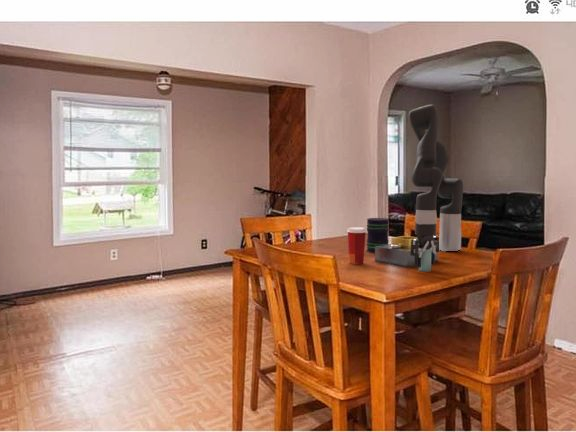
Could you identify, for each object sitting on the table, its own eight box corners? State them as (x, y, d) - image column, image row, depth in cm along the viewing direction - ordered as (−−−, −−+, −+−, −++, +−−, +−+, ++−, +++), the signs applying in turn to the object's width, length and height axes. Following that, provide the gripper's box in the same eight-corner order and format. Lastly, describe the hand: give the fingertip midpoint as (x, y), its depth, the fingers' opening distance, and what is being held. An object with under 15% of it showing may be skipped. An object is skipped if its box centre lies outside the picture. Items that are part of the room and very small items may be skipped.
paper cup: (367, 261, 190) (367, 227, 188) (364, 265, 182) (364, 229, 181) (348, 260, 192) (348, 226, 191) (344, 264, 185) (344, 229, 184)
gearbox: (405, 255, 204) (405, 233, 203) (437, 260, 191) (438, 237, 190) (374, 260, 191) (375, 238, 190) (406, 267, 179) (407, 242, 178)
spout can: (423, 268, 176) (423, 243, 175) (433, 270, 172) (434, 244, 171) (416, 270, 173) (416, 244, 172) (426, 272, 169) (426, 246, 169)
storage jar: (392, 251, 213) (393, 219, 212) (377, 253, 208) (378, 220, 206) (377, 248, 222) (377, 217, 220) (362, 250, 216) (362, 218, 215)
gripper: (428, 220, 178) (427, 262, 180) (405, 222, 169) (404, 266, 171) (446, 221, 172) (444, 264, 174) (422, 224, 164) (421, 270, 165)
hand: (424, 265), depth 172 cm, fingers open, 8 cm apart
